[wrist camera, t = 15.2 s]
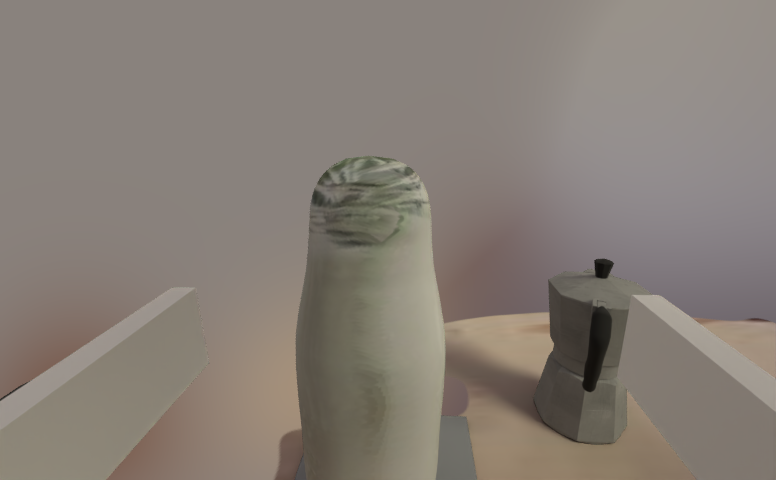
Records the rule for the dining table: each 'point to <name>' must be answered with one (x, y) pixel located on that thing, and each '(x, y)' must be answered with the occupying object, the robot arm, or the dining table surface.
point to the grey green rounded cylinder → (370, 327)
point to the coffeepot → (586, 355)
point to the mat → (444, 452)
